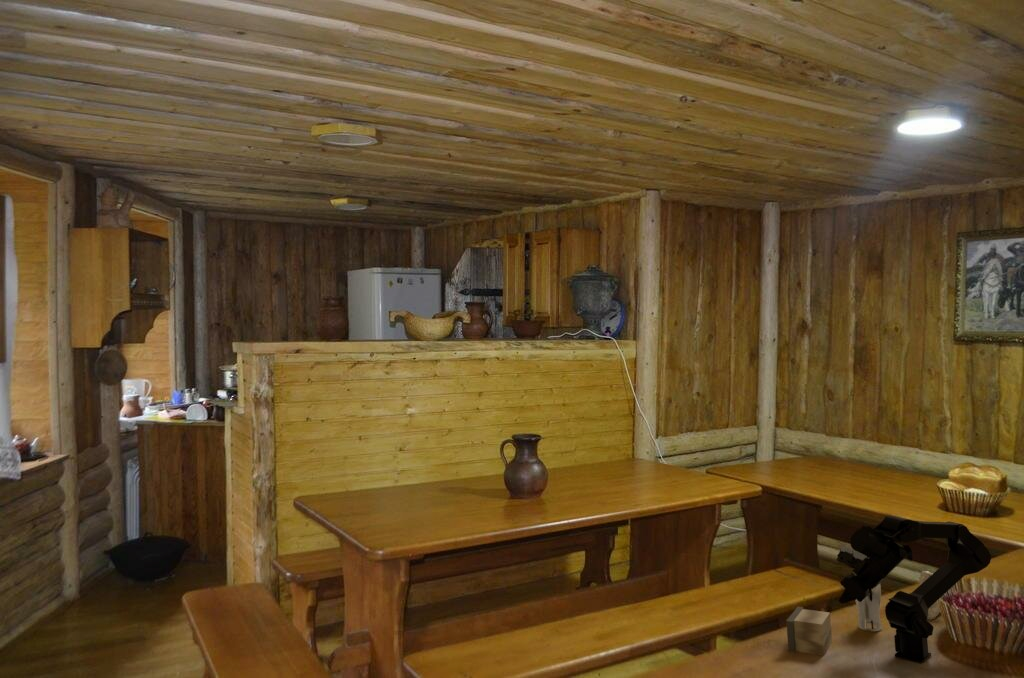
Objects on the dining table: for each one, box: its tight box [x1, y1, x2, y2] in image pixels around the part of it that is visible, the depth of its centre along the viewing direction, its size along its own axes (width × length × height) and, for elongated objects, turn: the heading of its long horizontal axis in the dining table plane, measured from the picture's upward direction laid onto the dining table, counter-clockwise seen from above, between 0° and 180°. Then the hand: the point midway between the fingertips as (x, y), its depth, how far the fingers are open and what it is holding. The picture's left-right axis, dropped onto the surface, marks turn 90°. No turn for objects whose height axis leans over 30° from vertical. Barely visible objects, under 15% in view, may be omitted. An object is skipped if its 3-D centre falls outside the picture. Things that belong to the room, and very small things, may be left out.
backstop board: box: [785, 606, 805, 654], centre depth 200 cm, size 2×12×8 cm, turn 145°
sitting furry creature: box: [918, 570, 941, 621], centre depth 216 cm, size 10×9×12 cm
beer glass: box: [852, 571, 883, 633], centre depth 208 cm, size 7×7×15 cm
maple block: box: [794, 608, 833, 657], centre depth 197 cm, size 7×10×8 cm
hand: (840, 602), depth 194 cm, fingers closed
